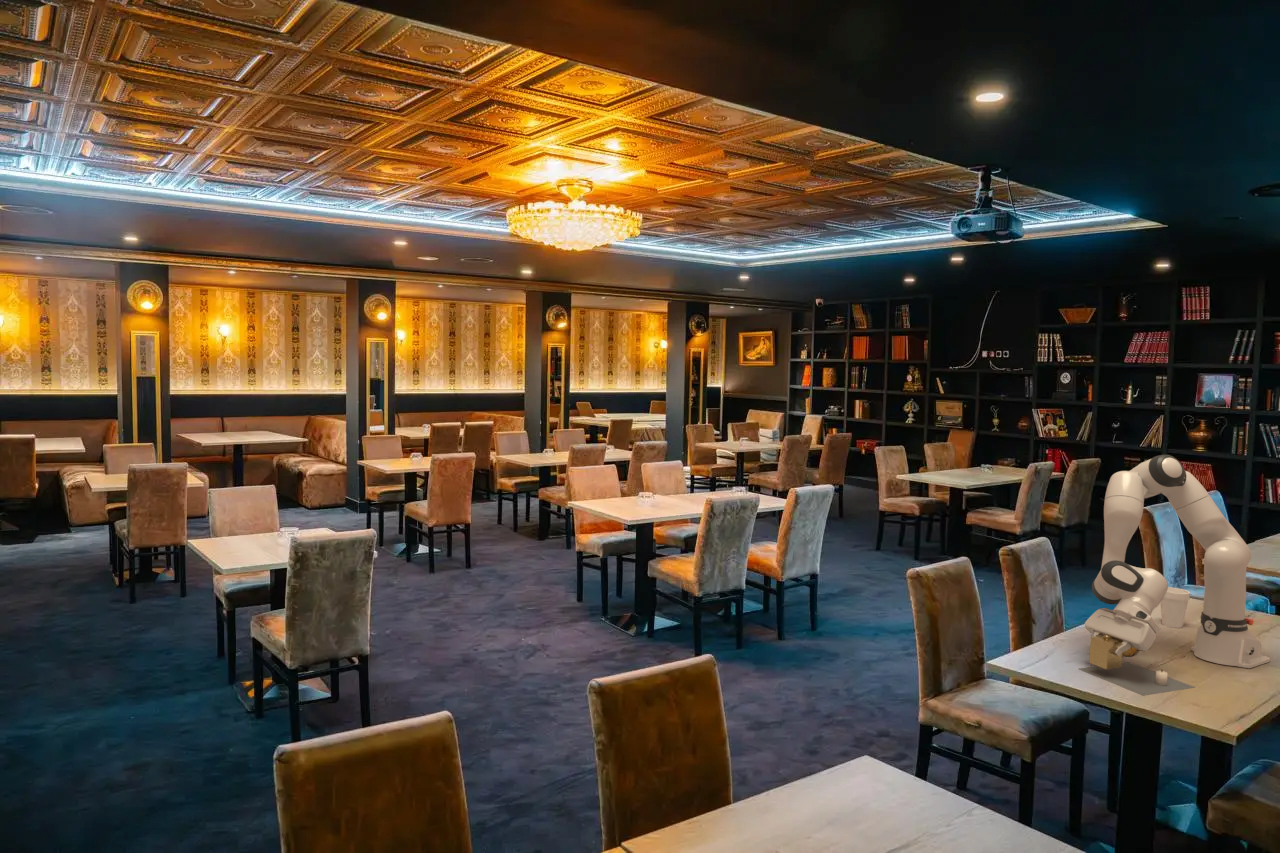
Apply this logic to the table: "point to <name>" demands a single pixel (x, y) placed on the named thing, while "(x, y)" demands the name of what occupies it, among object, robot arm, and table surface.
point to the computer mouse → (1161, 678)
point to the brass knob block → (1105, 652)
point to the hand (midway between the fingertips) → (1104, 650)
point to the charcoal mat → (1136, 679)
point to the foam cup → (1174, 607)
